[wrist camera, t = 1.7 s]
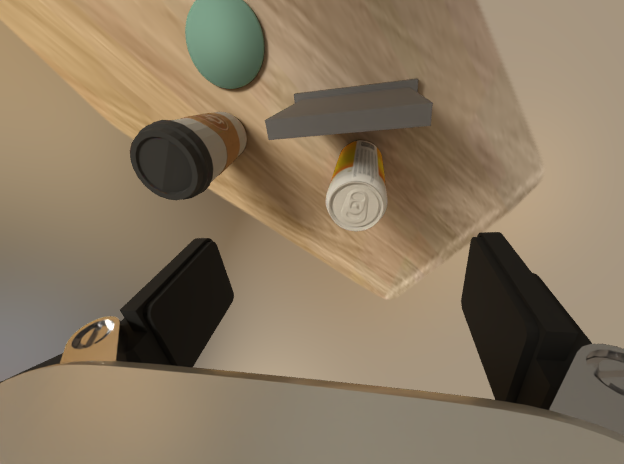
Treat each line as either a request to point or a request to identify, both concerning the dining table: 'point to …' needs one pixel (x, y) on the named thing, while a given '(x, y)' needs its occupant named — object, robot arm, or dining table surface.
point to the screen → (352, 110)
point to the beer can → (357, 187)
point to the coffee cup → (186, 153)
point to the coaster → (225, 41)
